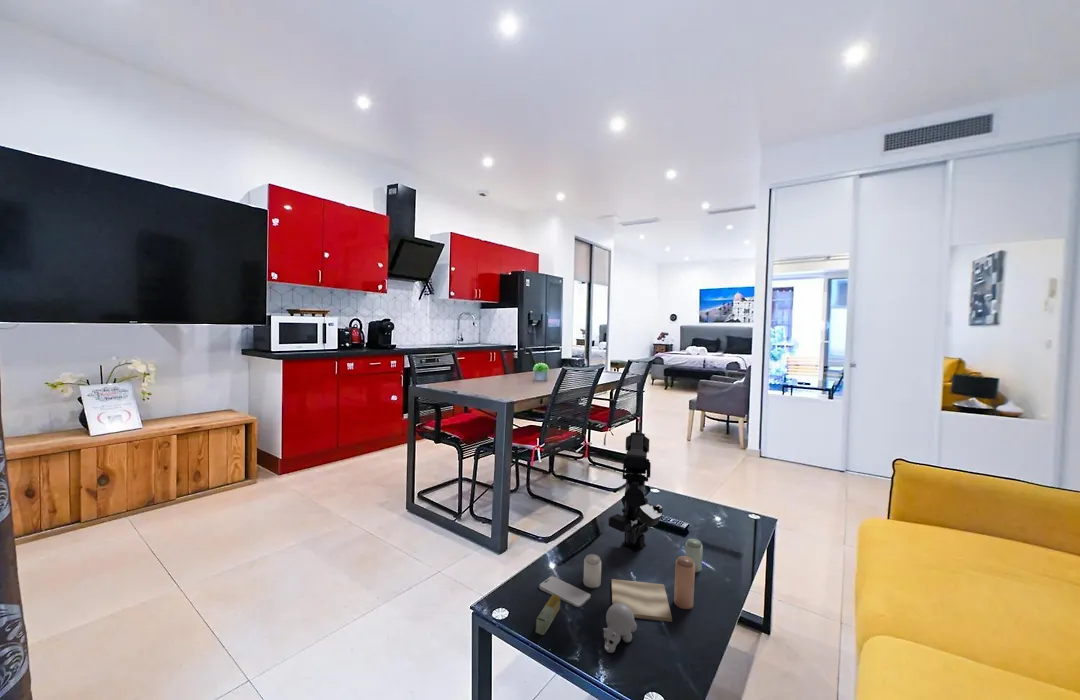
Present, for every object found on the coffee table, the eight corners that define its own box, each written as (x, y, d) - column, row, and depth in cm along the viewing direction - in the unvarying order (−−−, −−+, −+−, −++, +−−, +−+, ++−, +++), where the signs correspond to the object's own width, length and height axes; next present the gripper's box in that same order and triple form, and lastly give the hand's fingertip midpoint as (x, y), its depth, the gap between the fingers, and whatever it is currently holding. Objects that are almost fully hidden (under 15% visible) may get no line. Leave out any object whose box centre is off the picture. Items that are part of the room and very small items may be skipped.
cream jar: (579, 582, 137) (580, 557, 137) (591, 575, 141) (592, 551, 140) (592, 590, 133) (593, 564, 132) (604, 583, 137) (605, 558, 136)
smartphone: (579, 607, 124) (537, 585, 133) (579, 610, 124) (537, 589, 133) (592, 594, 130) (551, 575, 139) (592, 598, 130) (551, 578, 139)
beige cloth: (611, 582, 137) (611, 579, 137) (663, 587, 135) (663, 584, 135) (612, 614, 121) (612, 611, 121) (671, 621, 119) (672, 618, 119)
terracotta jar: (670, 602, 128) (672, 559, 127) (680, 595, 131) (681, 553, 131) (687, 611, 124) (689, 567, 123) (696, 603, 127) (698, 560, 127)
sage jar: (681, 567, 147) (682, 541, 147) (689, 561, 151) (690, 536, 150) (696, 574, 143) (697, 547, 143) (704, 568, 147) (705, 542, 146)
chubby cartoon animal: (595, 654, 110) (589, 630, 107) (617, 615, 119) (612, 592, 116) (621, 668, 106) (615, 644, 103) (642, 626, 114) (637, 603, 111)
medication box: (544, 636, 113) (545, 621, 112) (534, 633, 114) (535, 618, 113) (560, 609, 124) (561, 595, 124) (551, 606, 125) (552, 593, 125)
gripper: (638, 510, 124) (636, 564, 125) (674, 494, 136) (672, 543, 137) (607, 498, 132) (606, 548, 133) (644, 484, 144) (642, 530, 145)
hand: (633, 542), depth 137 cm, fingers closed
